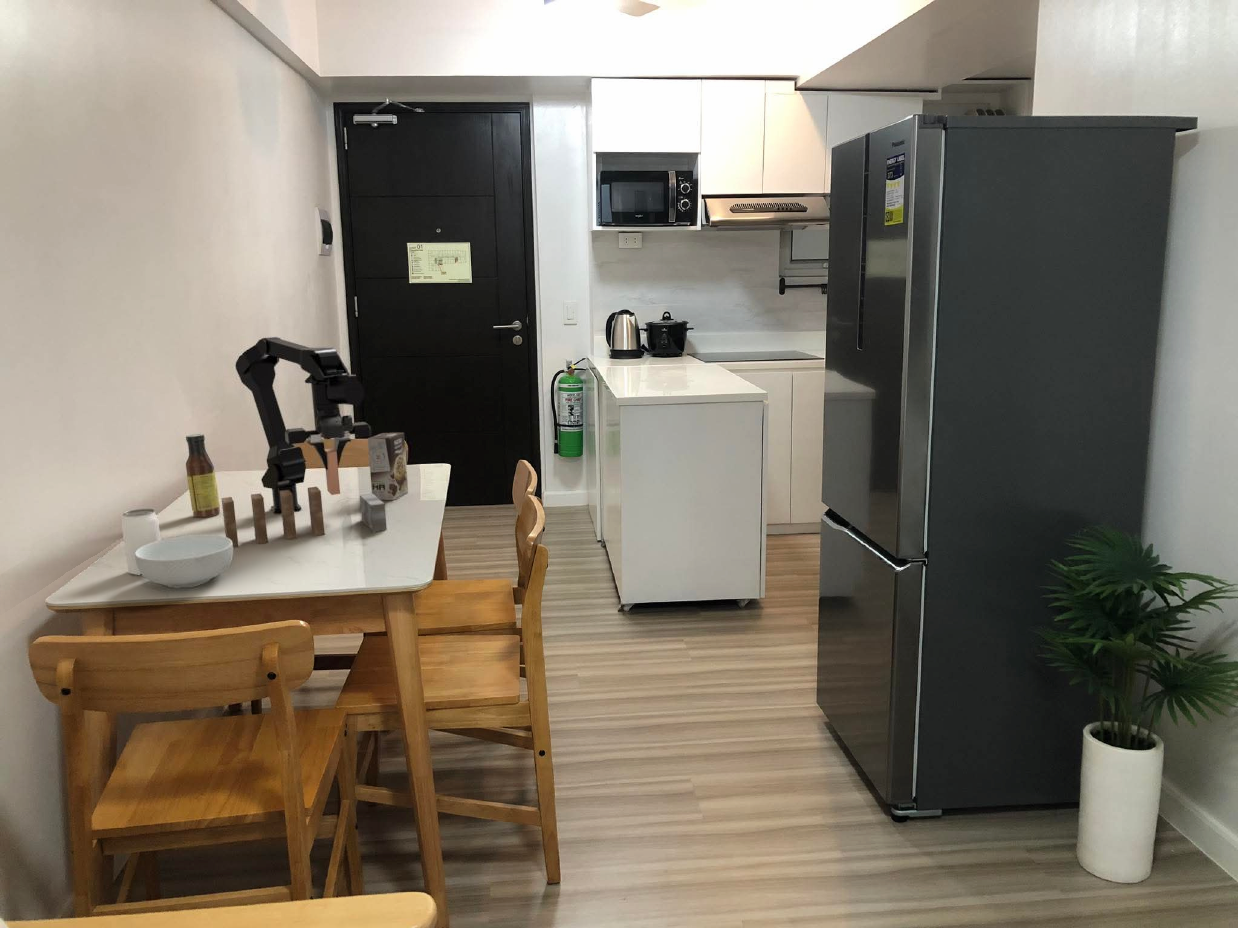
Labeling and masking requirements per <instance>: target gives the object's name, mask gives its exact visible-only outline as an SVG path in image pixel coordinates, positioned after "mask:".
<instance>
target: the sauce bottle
mask: <svg viewBox="0 0 1238 928" xmlns="http://www.w3.org/2000/svg"><path fill="white" fill-rule="evenodd" d="M185 438H186V439H185V441H186V443H187V447H188V457H187V460H186V462H185V469H186V474H187V475H186V478H187V483H188V484H187V485H188V490H189V497H190V503H191V510H192V514H193V517H195V518H209V517H214V516H217V515H219V514H220V513H221V512H220V508H221V507H220V506H221V505H220V500H219V499H220V498H219V492H218V485H217V480H216V473H215V466H214V465H213V462H212V460H211V458H210V457H209V455H208V454H209V453H208V452H207V449H206V443H205V441H206V439H205V434H203V433H194V434H188V435H186V436H185Z"/></svg>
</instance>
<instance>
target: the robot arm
mask: <svg viewBox="0 0 1238 928" xmlns="http://www.w3.org/2000/svg"><path fill="white" fill-rule="evenodd" d="M255 343H256V344H254V345H252V346H251V347H249V348H248V349H246V350H245V351H244V352H242V354H241V355H239V356H238V358H237V360H236V362H235V365H234V366H235V370H236V372H237V374H238V377H239V379H240V381H241V383H242V384H243V385H244V386H245V387H247V389H248V390H249V391H250V392H251V394H252V396H253V400H254V403H255V406H256V409H257V412H258V413H257V414H258V415H259V419H260V422H261V425H262V428H263V432H264V435H265V438H266V440H267V444H268V448H269V449H268V453H267V456H266V457H267V458H266V465H267V469H266V471H265V472H264V474H263V476H262V477H261V478H260V480H261V484H262V486H263V488H265V489H271V493H272V502H273V503H272V504H273V505H271V506H270V509H271V510H272V512H273V513H275V514H277V513H278V514H280V513H282V511H281V501H280V491H285V490H289V491H290V492H291V493H292V495H293V505H294V512H295V511H301V510H302V509H303V508H302V506H301V505H300V504H299V503H298V501H299V500H298V491H297V485H298V484H302V483H304V482H305V477H306V476H305V475H306V471H307V465H306V464H307V460H306V458H305V457H304V456H305V455H304V454H303V449H302V447H301V445H300V446H295V445H297V444H304V443H305V442H307V444H308V445H310V446H313V447H314V449H315V450H316V452H317V454H318V456H319V458H320V460H321V463H322V465H323V467H324V469H325V471H326V470H328V465H327V459H326V454H325V449H326V448H325V442H324V441H322V438H323V439H324V440H331V439H333V444H334V445H333V449H334V450H335V451H336V452H337V462H338V468H339V466H340V462H341V459H342V455H343V452H344V448H345V446H346V445H347V444H348V443H349V442H350V443H351V442H352V439H351V435H355V436H357V437H358V438H364V437H367V438H368V437H373V436H372V427H371V425H369V424H368V423H367V422H365V421H361V422H359V421H358V422H353V417H352V415H350V414H349V415H348V414H347V415H341V412H340V405H346V406H357V405H360V403H362V401H363V400H364V398H365V397H364V396H365V388H364V387H363V385H362V383H361V382H360V381H359V380H358V379H357V376H356V374H350V372H349V370H348V368H347V366H346V365H345V363H344V362H343V360H342V358H341V357H340V355H339V354H338V351H337V350H336V348H334V347H309V346H305V345H302V344H298V343H296V342H291V341H289V340H285V339H282V338H281V337H278V336H271V337H270V336H269V337H262V338H261V339H258V341H257V342H255ZM280 359H281V360H284V361H288V362H291V363H293V364H297V365H299V367H300V369H301V370H303V371H305V372H306V373H307V374H309V375H308V377H307V378H305V380H304V383H305V384H310V386H311V388H310V389H311V397H312V407H313V408H312V409H313V417H314V418H313V419H314V429H311V430H306V429H304V428H303V427H295V428H286V425H285V421H284V418H283V414H282V411H281V409H280V405H279V403H278V399H277V396H276V393H275V390H274V386H273V385H274V382H275V378H276V375H277V374H276V370H275V367H276V366H277V365H278V364H279V362H280Z"/></svg>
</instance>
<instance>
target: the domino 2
mask: <svg viewBox="0 0 1238 928" xmlns="http://www.w3.org/2000/svg"><path fill="white" fill-rule="evenodd" d="M250 497H251V498H250V499H251V507H252V508H251V509H252V510H251V511H252V518H253V527H254V536H255V537H254V539H255V540H256V542H257V544H258V545H262V544H268V543H269V539H268V530H267V519H266V510H265V500H264V497H263V495H262V494H261V493H253V494H252V493H251V494H250Z"/></svg>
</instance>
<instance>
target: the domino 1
mask: <svg viewBox="0 0 1238 928" xmlns="http://www.w3.org/2000/svg"><path fill="white" fill-rule="evenodd" d="M221 505H222V516H223V522H224V535H225V537H227V538H229V539H230V540H231V541H232V543H233V549H235V548H239V538H238V530H237V529H238V528H237V521H236V519H237V518H236V510H235V502H234V500H233V498H232V496H228V497H226V496H225V497H222V498H221Z"/></svg>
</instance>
